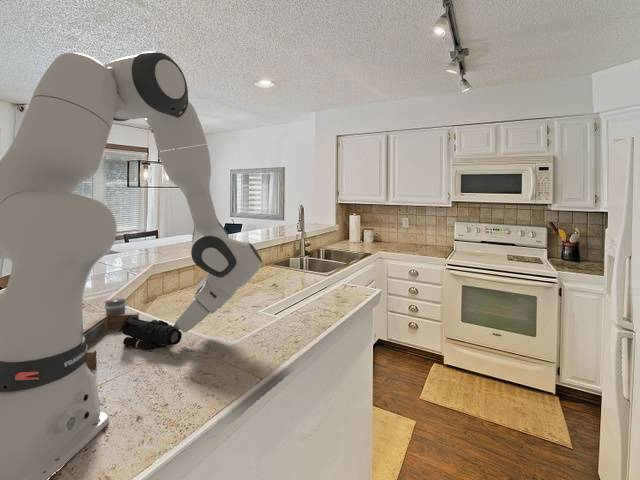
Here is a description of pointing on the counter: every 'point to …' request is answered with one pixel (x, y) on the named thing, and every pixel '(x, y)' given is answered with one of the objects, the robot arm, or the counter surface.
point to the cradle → (98, 328)
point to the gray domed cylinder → (115, 306)
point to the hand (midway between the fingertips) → (175, 327)
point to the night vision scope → (149, 333)
